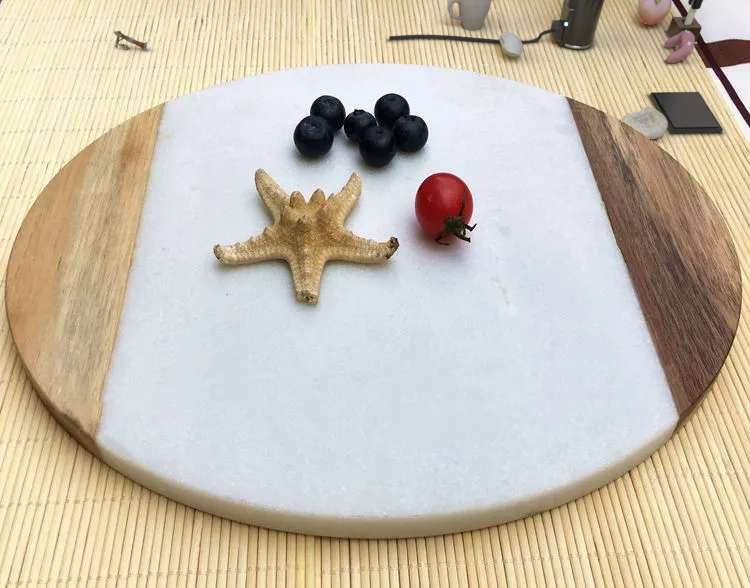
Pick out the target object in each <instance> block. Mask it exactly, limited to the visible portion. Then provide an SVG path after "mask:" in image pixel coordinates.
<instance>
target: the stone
mask: <svg viewBox="0 0 750 588" xmlns="http://www.w3.org/2000/svg"><path fill="white" fill-rule="evenodd" d="M498 40H500V43H499V44H500V45H501V46H502V49H503V51H504V53H505V54H506V55H507V56H508V57H510V58H518V57H521V55H522V54H523V49H524V44H522V42H521V41H522V40H521V38H520V37H519V36H518V35H517V34H515V33H513V32H510V31H504V32H502V33H501V34H500V35H499V38H498Z"/></svg>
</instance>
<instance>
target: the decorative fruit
mask: <svg viewBox="0 0 750 588" xmlns="http://www.w3.org/2000/svg"><path fill="white" fill-rule="evenodd" d="M672 2H673V1H672V0H638V2H637V12H638V15H639V18H640V20H641V21H642V23H643V24H645V23H646V24H645V25H646V26H652V25H656V24H658V23H660V22H662V21H663V20H664V19H665V18H667V16H668V15H669V13H670V12H671V9H672V6H673V5H672V4H673V3H672Z"/></svg>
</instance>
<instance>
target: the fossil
mask: <svg viewBox="0 0 750 588" xmlns="http://www.w3.org/2000/svg"><path fill="white" fill-rule="evenodd" d="M621 121H623V122H625V123H626V124H628V125H630V126H631V127H633V128H634V129H636V130H638V131H639V132H641V133H642V134H644V135H645V136H647V137H648V138H650V139H651V140H650V141H652V140H656V139H659V138H661V137H663V136H664V135H665V133H666V132H667V131H668V128H667V126H668V122H667V120H666V117H665V116H664V115H663V114H662V113H660V112H659V111H658V110H657V108H654V107H653V106H649V105H648V106H644V107H642V108H641V110H639V111H637V112H636V111H635V112H631V113H630V112H628V113H626V114H624V115H623V117H622V118H621V120H620V122H621Z"/></svg>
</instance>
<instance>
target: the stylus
mask: <svg viewBox="0 0 750 588" xmlns="http://www.w3.org/2000/svg"><path fill="white" fill-rule="evenodd" d="M692 3H693V1H692ZM691 6H692V4H691V5H690V6H689V9H688V12H687V15H686V16H685V17H686V20H685V23H684V25H691V24H692V21H693V18H694V17H696V14H697V10H698V9H692V8H691Z"/></svg>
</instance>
